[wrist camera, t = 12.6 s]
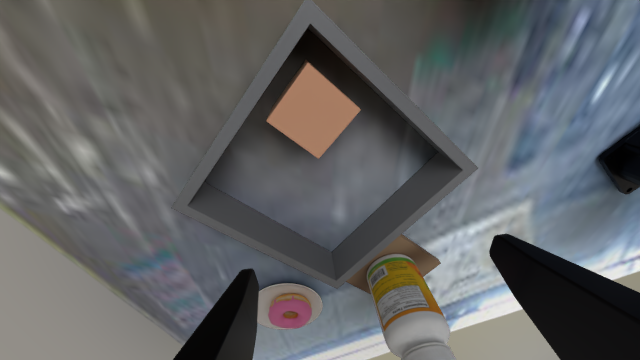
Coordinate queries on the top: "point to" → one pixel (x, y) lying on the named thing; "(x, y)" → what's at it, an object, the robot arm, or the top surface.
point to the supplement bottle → (408, 310)
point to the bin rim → (381, 225)
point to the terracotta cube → (312, 110)
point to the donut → (288, 306)
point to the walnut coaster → (398, 246)
